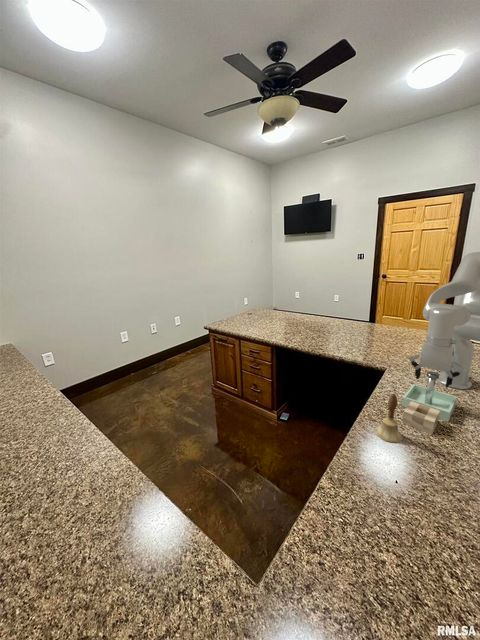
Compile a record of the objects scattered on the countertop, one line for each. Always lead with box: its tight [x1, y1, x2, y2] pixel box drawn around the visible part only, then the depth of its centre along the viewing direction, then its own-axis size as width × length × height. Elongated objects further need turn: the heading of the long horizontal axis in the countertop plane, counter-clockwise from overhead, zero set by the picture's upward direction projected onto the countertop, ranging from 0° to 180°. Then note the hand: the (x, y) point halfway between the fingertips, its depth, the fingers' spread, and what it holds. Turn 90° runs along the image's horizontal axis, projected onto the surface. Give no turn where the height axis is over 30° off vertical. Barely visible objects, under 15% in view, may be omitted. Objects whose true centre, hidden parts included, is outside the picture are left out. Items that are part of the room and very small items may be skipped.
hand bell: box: [374, 393, 403, 444], centre depth 87 cm, size 8×8×16 cm
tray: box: [401, 383, 458, 423], centre depth 103 cm, size 14×15×4 cm
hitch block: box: [401, 401, 440, 435], centre depth 94 cm, size 9×9×5 cm
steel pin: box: [424, 371, 440, 405], centre depth 102 cm, size 4×4×13 cm
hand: (432, 381), depth 101 cm, fingers open, 9 cm apart
